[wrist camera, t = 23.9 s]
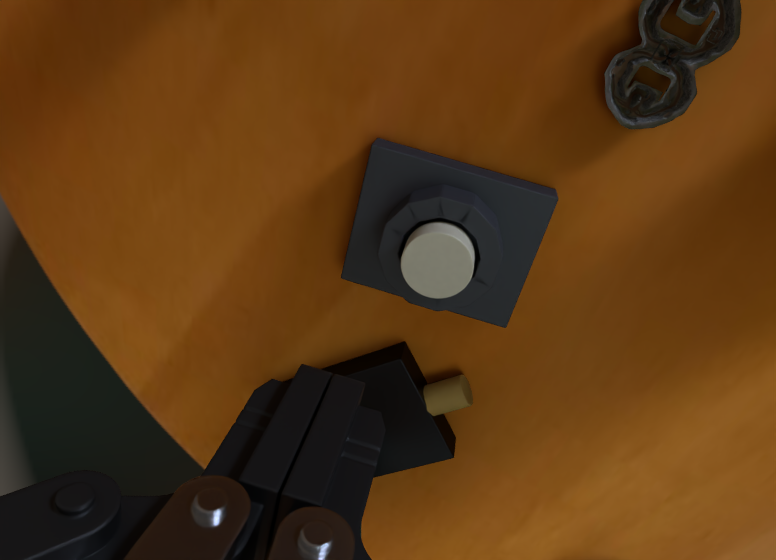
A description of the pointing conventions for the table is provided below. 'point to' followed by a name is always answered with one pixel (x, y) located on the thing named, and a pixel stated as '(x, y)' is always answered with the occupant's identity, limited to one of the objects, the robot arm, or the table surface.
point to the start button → (438, 260)
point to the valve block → (407, 407)
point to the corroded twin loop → (668, 61)
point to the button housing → (453, 205)
